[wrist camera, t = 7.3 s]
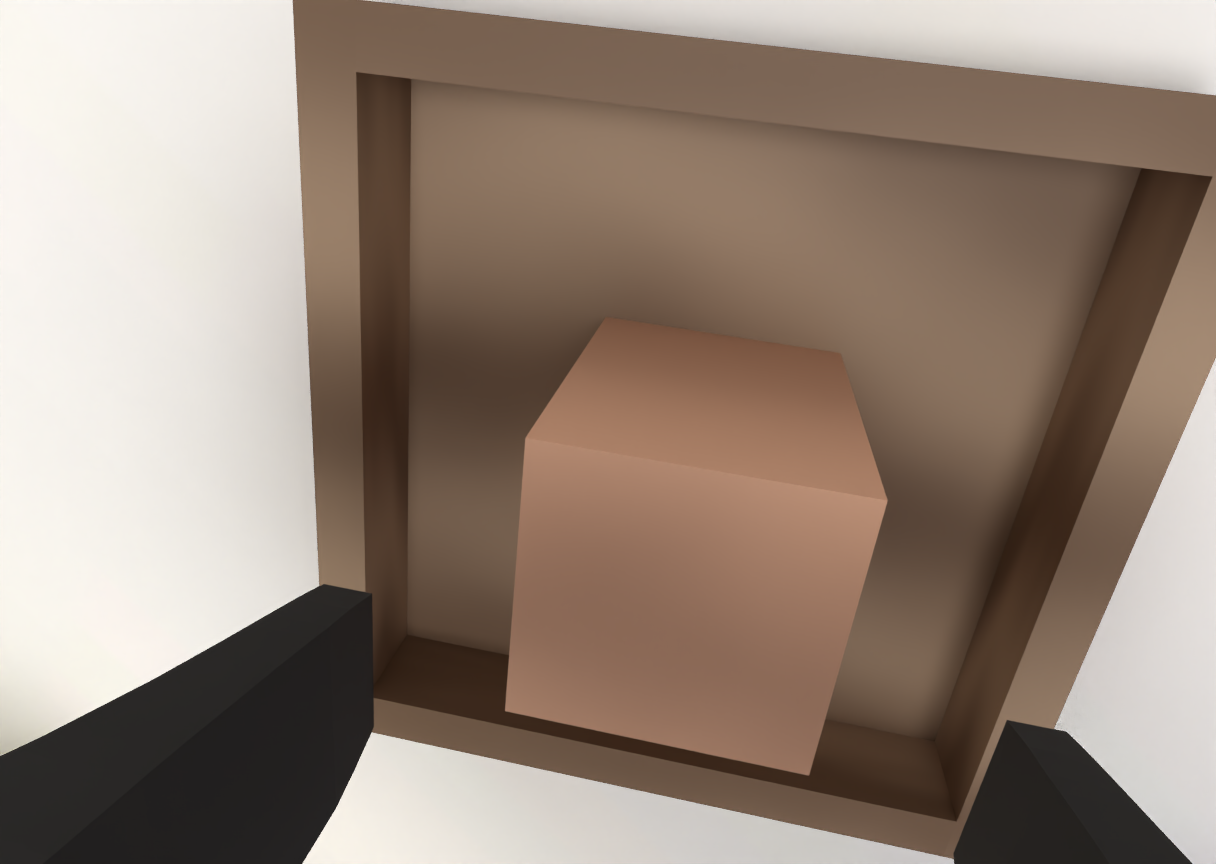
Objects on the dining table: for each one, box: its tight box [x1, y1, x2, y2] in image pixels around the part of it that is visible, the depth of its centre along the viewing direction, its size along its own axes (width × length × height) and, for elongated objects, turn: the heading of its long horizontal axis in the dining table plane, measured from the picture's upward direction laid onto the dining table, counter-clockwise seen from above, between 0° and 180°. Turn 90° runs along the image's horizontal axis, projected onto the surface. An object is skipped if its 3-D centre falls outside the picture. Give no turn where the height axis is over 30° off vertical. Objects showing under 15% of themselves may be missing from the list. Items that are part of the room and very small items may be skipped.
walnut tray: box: [293, 0, 1216, 859], centre depth 16 cm, size 14×14×3 cm
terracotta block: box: [505, 317, 888, 776], centre depth 14 cm, size 4×4×6 cm
